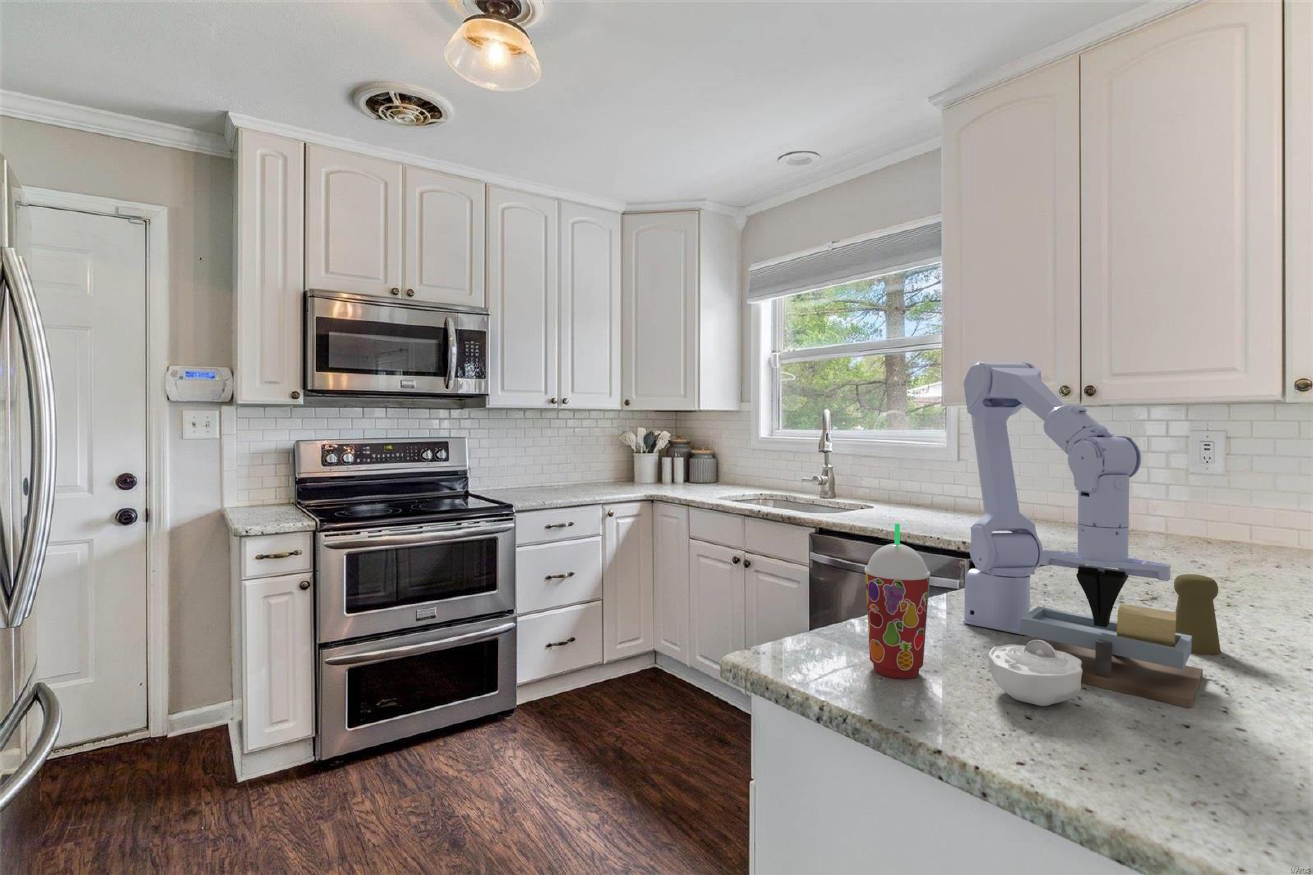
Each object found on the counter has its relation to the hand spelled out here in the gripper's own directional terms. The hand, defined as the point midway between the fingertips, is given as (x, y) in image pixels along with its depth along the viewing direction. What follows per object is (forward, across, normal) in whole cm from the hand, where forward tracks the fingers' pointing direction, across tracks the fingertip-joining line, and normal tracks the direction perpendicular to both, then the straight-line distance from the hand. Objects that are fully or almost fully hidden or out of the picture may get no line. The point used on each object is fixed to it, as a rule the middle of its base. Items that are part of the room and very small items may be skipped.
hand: (1101, 625), depth 90 cm
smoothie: (+6, -20, -20) cm, 29 cm away
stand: (+6, +1, 0) cm, 6 cm away
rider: (+1, +5, 0) cm, 5 cm away
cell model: (+6, -4, -17) cm, 19 cm away
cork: (+6, +8, +21) cm, 23 cm away
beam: (+2, 0, 0) cm, 2 cm away
